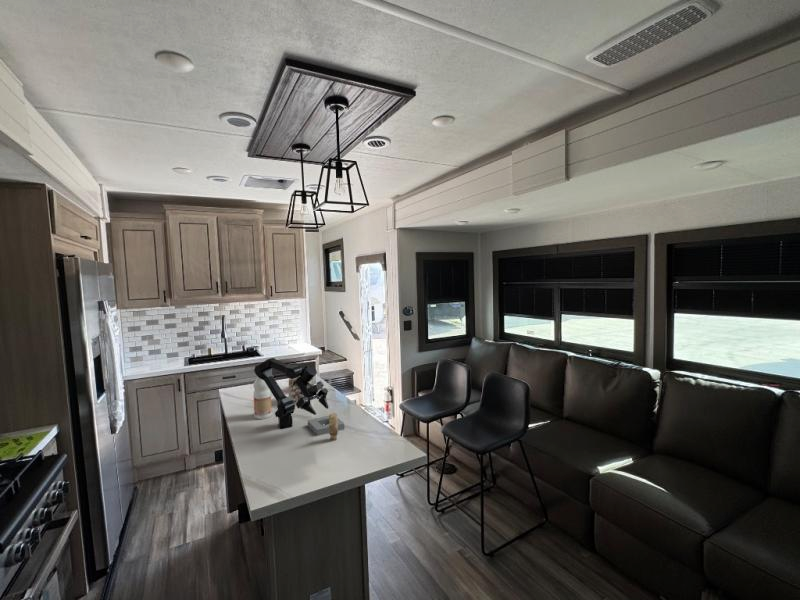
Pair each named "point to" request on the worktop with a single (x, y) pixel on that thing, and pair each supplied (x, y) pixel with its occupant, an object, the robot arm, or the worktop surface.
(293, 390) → the decorative jar
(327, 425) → the charcoal socket board
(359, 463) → the worktop surface
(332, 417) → the oak peg
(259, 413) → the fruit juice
